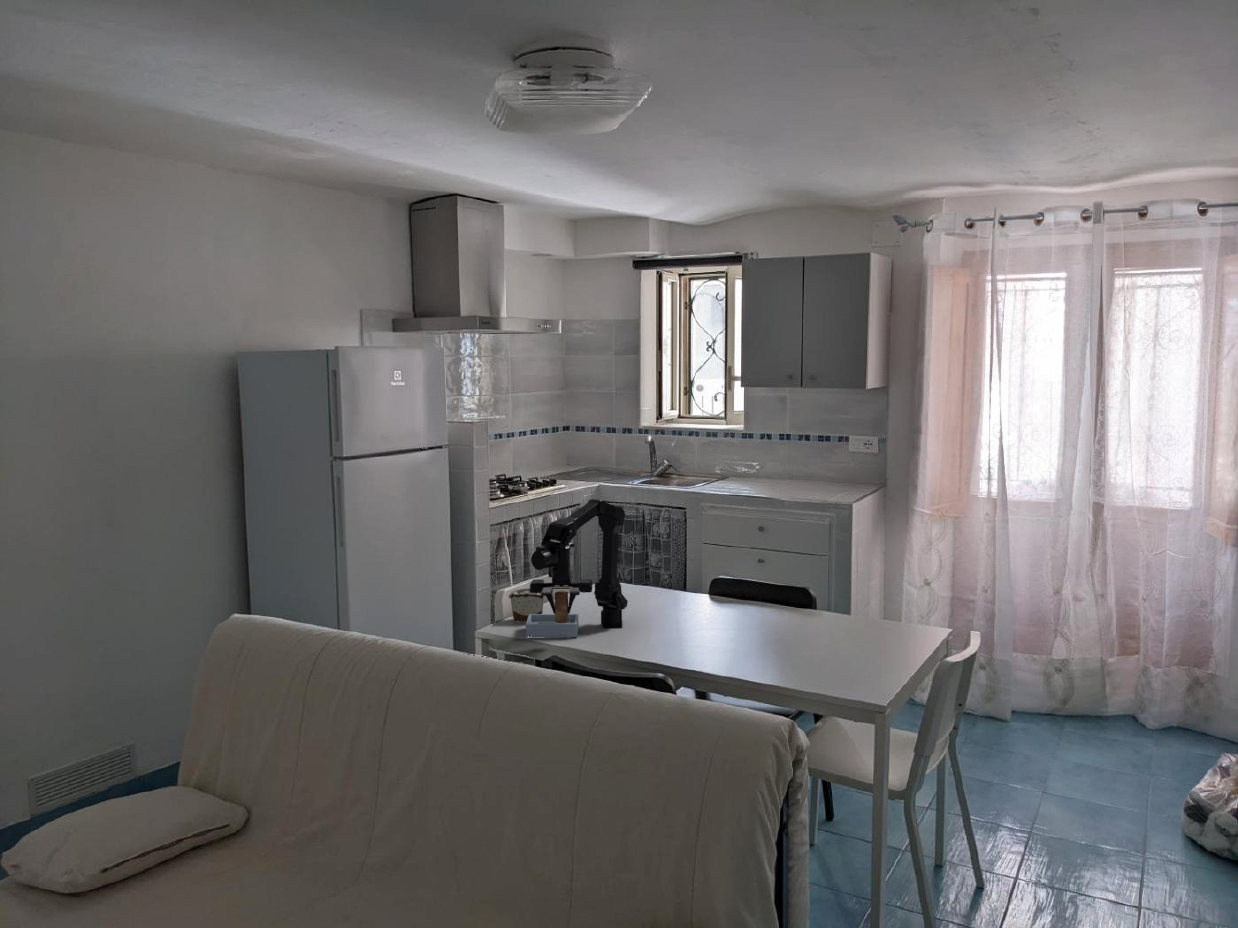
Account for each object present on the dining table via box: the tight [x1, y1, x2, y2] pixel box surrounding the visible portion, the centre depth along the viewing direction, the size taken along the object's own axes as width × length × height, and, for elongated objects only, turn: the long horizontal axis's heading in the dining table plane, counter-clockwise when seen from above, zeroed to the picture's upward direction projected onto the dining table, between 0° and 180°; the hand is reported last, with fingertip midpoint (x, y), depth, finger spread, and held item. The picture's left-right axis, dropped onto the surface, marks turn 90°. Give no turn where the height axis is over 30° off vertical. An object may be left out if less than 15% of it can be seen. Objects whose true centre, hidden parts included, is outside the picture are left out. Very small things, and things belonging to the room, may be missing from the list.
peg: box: [554, 590, 569, 623], centre depth 290 cm, size 4×4×9 cm
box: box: [525, 613, 580, 638], centre depth 304 cm, size 16×11×4 cm
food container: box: [508, 588, 547, 623], centre depth 318 cm, size 12×6×10 cm, turn 84°
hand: (561, 613), depth 290 cm, fingers closed on peg, 4 cm apart
